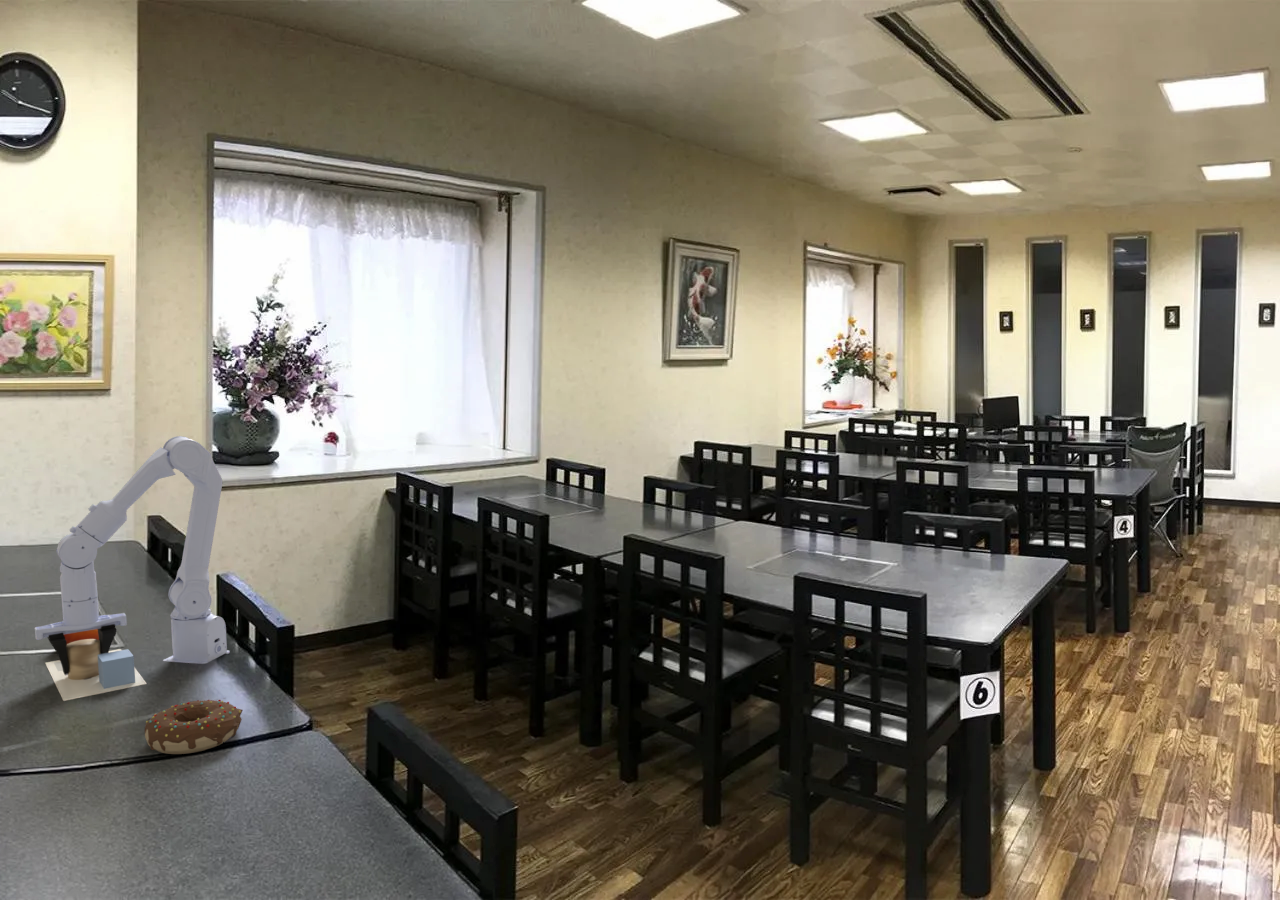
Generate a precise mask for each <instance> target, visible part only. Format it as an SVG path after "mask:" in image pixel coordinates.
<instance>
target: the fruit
mask: <svg viewBox="0 0 1280 900" xmlns="http://www.w3.org/2000/svg"><path fill="white" fill-rule="evenodd" d="M64 636H65V640H66V641H67V644H69V643H71V642H74V641H78V640H84V639H97V640H99V636H98V629H94V630H88V631H82V632H76V633H70V634H64Z"/></svg>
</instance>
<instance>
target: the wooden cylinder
mask: <svg viewBox="0 0 1280 900" xmlns="http://www.w3.org/2000/svg"><path fill="white" fill-rule="evenodd" d="M99 654H101V653H100V641H99V640H97V639H84V640H78V641H74V642H71V643H69V644H67V661H68V667H69V674H68V678H69V679H73V680H81V679H88V678H92V677H95V676H98V675H99V669H98V655H99Z"/></svg>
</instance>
